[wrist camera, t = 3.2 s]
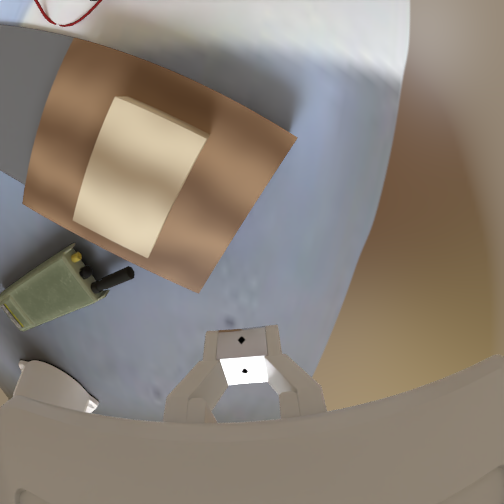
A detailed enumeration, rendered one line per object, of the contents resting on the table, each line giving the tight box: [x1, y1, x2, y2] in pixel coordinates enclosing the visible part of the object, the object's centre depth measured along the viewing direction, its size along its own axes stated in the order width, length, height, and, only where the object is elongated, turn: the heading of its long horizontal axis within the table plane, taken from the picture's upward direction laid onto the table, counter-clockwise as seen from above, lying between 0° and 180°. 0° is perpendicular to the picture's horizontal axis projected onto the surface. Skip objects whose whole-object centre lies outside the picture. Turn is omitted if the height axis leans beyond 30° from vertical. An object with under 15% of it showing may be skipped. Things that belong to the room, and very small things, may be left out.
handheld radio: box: [0, 243, 134, 331], centre depth 27 cm, size 7×3×25 cm
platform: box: [22, 38, 297, 293], centre depth 21 cm, size 16×20×4 cm
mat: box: [0, 25, 74, 184], centre depth 16 cm, size 16×18×1 cm
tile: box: [73, 96, 210, 258], centre depth 19 cm, size 10×7×2 cm
